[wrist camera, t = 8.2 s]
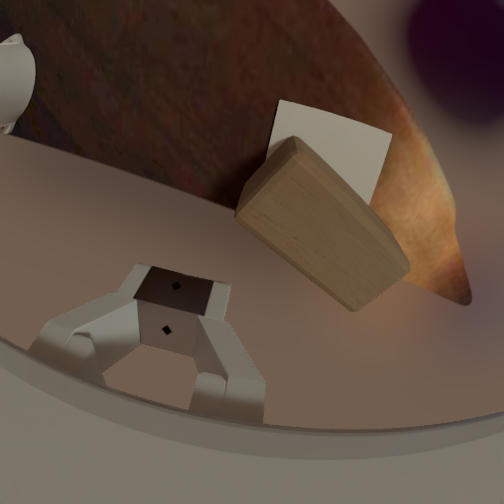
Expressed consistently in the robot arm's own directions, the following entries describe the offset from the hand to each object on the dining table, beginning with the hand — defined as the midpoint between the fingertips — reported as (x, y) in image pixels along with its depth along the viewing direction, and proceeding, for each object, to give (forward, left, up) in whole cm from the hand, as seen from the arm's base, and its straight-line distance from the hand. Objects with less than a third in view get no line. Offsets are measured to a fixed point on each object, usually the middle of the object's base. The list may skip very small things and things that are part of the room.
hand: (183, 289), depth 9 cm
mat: (+9, -1, -30) cm, 32 cm away
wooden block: (+2, -2, -25) cm, 25 cm away
